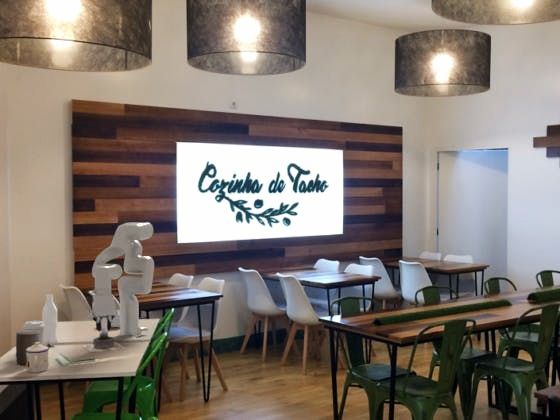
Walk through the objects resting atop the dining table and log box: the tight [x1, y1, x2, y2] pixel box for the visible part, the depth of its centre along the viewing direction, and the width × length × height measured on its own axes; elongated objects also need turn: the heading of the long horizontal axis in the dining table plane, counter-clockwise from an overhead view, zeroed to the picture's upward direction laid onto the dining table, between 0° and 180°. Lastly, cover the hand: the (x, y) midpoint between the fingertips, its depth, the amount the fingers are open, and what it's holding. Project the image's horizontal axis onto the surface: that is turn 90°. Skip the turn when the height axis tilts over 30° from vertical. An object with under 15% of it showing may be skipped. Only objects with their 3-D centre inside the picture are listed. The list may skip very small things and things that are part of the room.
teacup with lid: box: [26, 342, 50, 373], centre depth 272 cm, size 12×9×12 cm
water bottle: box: [41, 293, 59, 347], centre depth 318 cm, size 7×7×25 cm
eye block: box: [83, 336, 125, 353], centre depth 308 cm, size 16×16×6 cm
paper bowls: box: [111, 309, 120, 328], centre depth 365 cm, size 15×15×8 cm
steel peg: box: [98, 316, 109, 340], centre depth 308 cm, size 4×4×13 cm
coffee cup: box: [22, 320, 45, 346], centre depth 299 cm, size 10×10×15 cm
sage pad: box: [55, 355, 97, 367], centre depth 289 cm, size 14×14×1 cm
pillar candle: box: [15, 329, 40, 366], centre depth 285 cm, size 10×10×15 cm
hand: (103, 329), depth 308 cm, fingers closed on steel peg, 4 cm apart
